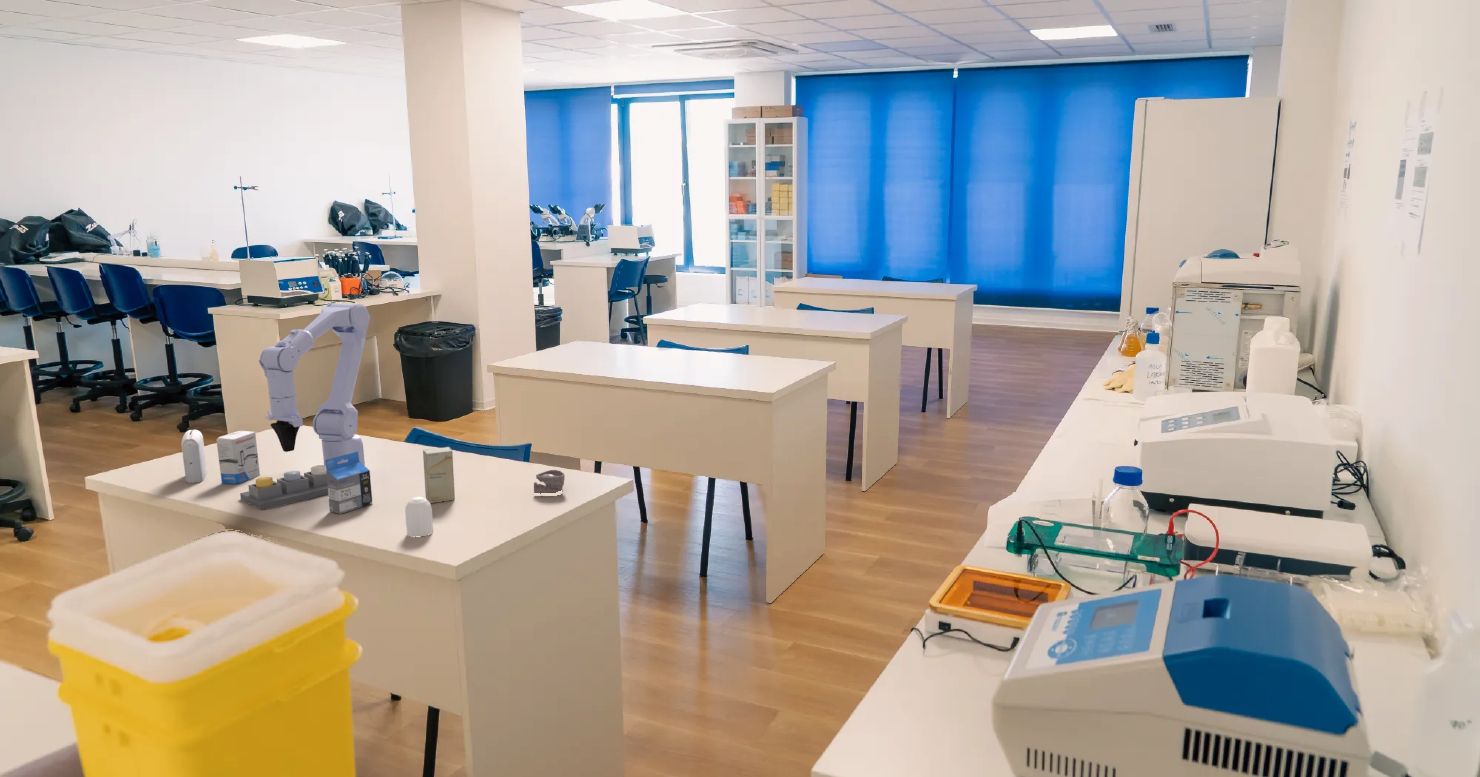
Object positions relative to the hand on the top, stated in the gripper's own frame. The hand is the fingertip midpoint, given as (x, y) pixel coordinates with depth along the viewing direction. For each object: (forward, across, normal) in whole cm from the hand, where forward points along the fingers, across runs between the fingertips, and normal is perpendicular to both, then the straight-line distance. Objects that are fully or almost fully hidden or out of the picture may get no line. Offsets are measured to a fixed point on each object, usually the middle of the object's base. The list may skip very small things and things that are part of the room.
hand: (288, 450), depth 231 cm
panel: (+10, +4, -2) cm, 11 cm away
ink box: (+10, -19, -5) cm, 22 cm away
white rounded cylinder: (+10, +52, +4) cm, 53 cm away
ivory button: (+7, +4, +5) cm, 10 cm away
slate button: (+7, +4, -2) cm, 9 cm away
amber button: (+7, +4, -8) cm, 12 cm away
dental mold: (+10, +51, +39) cm, 65 cm away
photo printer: (+10, -29, -12) cm, 33 cm away
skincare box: (+10, +35, +19) cm, 41 cm away
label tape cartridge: (+10, +24, +2) cm, 27 cm away
